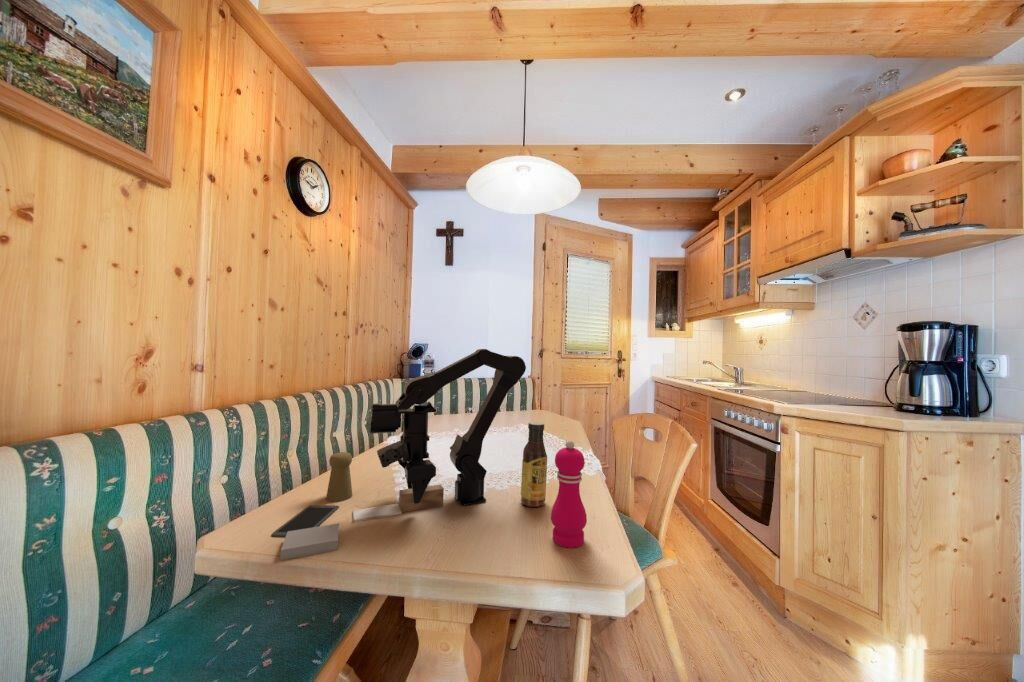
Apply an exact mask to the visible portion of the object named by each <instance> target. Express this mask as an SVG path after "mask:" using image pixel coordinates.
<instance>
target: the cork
mask: <svg viewBox="0 0 1024 682" xmlns="http://www.w3.org/2000/svg"><path fill="white" fill-rule="evenodd" d="M352 461H353V457H352V454H351V453H350V452H347V451H340V452H336V453H332V455H330V457H329V461H328V463H329V466H330V467H331V468H330V475H329V480H328V486H327V490H326V491H327V492H326V498H325V500H326V501H327V502H330V503H337V502H344V501H347V500H349V499H351V498H352V497H353V487H352V478H351V468H350V467H351V464H352Z"/></svg>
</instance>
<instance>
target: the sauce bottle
mask: <svg viewBox="0 0 1024 682" xmlns="http://www.w3.org/2000/svg"><path fill="white" fill-rule="evenodd" d="M527 426H528V438H527V443H526V445H524V448H523V451H522V453H523V454H522V461H521V462H522V463H521V481H520V482H521V485H520V496H521V498H520V501H521V503H522V504H523V505H524V506H526V507H532V508H537V507H542V506H543V505H544V504H545V502H546V496H547V494H546V493H547V475H548V474H547V473H548V471H547V470H548V455H547V451H546V448H545V442H544V430H545V424H544V422H539V421H531V422H528V425H527Z"/></svg>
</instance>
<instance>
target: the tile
mask: <svg viewBox="0 0 1024 682" xmlns="http://www.w3.org/2000/svg"><path fill="white" fill-rule="evenodd" d="M339 530H340V523H334V524H333V523H331V524H327V525H320V526H319V527H313V528H306V529H300V530H294V531H288V532H287V535H286V537H284V541H283V543H282V545H281V546H282V547H281V548H280V556H279V557H280V561H283V560H289V559H293V558H294V557H295V558H299V557H305V556H310V555H315V554H321V553H326V552H331V551H336V550H338V544H339V532H340V531H339ZM295 558H294V559H295Z"/></svg>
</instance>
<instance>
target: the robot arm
mask: <svg viewBox="0 0 1024 682" xmlns="http://www.w3.org/2000/svg"><path fill="white" fill-rule="evenodd" d="M482 366H486V367H489V368H492V369H494V375H493V382H492V385H491V386H490V389H489V391H488V392H487V394H486V396H485V398H484V400H483V402H482V404H481V405H480V407H479V409H478V411H477V413H476V415H475V417H474V419H473V420H472V422H471V424H470V427H469V428H468V430H467V432H466V433H464V434H463V435H462V436H461V435H459V434H456V437H455V438H454V442H453V444H451V446H450V447H449V449H450V452H449V459H450V461H451V463H452V464H453V466H454V467H455V469H456V470H457V471H458V472H459V473H457V475H456V476H457V477H456V480H455V481H454V498H455V500H456V501H458V503H459V505H461V506H468V505H474V504H475V505H476V504H480V503H486V502H487V499H486V497H485V496H484V495H485V494H484V493H485V478H486V475H487V472H488V471H487V470H486V468H485V467H484V466H483V465H482V464H481V463H480V462H479V461H480V458H481V454H482V450H483V449H482V448H483V443H484V439H485V437H486V435H487V433H488V431H489V429H490V428H491V425H492V424H493V421H494V419H495V417H496V416H497V414H498V412H499V409H501V406H502V403H503V402H504V400H505V399H506V396H507V395H508V393H509V391H511V389H512V388H513V387H514V386H515V385H516V384H517V383H518V382H519V381H520V379H521V378H522V377H523V375H524V374H525V372H526V369H527V366H526V362H525V361H524V359H523V358H522V357H520V356H517V355H504V354H500V353H496V352H494V351H491V350H489V349H487V348H479V349H476V350H475V351H474V352H473V353H471V354H468V355H467V356H464V357H463V358H461V359H458V360H457V361H454V362H453V363H451V364H449V365H447V366H445V367H442V368H441V369H440V370H437V371H435V372H430V373H427V374H424V375H420V376H417V377H414V378H410V379H409V380H408V381H406V382H405V384H404V388H403V392H402V394H401V395H400V396H399V398H398V399H397V400H396V401H395V403H372V404H371V406H372V407H371V416H370V429H369V430H370V432H369V433H370V434H369V435H371V434H372V435H374V434H376V435H377V434H390V433H396V432H397V430H399V429H400V428H401V427H402V414H403V427H402V428H401V429H403V431H402V433H401V435H400V437H399V438H400V439H399V441H397V442H396V441H395V442H393V443H391V444H388V445H386V446H383V447H381V448H379V449H377V450H376V453H377V456H378V459H379V462H380V464H381V467H382V468H387V467H389V466H390V465H392V464H394V463H398V464H399V465H400V466H401V467H402V468H403V469H404V474H405V475H404V477H405V479H406V484H407V489H411V488H412V491H413V498H414V503H415V504H417V503H420V500H421V498H422V496H423V494H424V492H425V490H426V488H427V486H429V484H430V482H431V480H432V479H433V478H435V477H436V476H437V467H436V465H435V463H434V462H432V461H431V460H430V459H429V458H430V453H429V452H428V442H430V435H429V432H428V430H429V428H428V427H429V413H437V411H438V410H437V408H436V407H434V405H432V403H431V401H429V400H430V399H431V398H432V397H434V396H435V395H436V394H438V393H439V391H440V390H442V388H444V387H445V386H446V385H449V384H450V383H452V382H455V381H456V380H458V379H460V378H462V377H463V376H465V375H467V374H469V373H471V372H473V371H474V370H477V369H479V368H481V367H482ZM424 403H425V404H424Z"/></svg>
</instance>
